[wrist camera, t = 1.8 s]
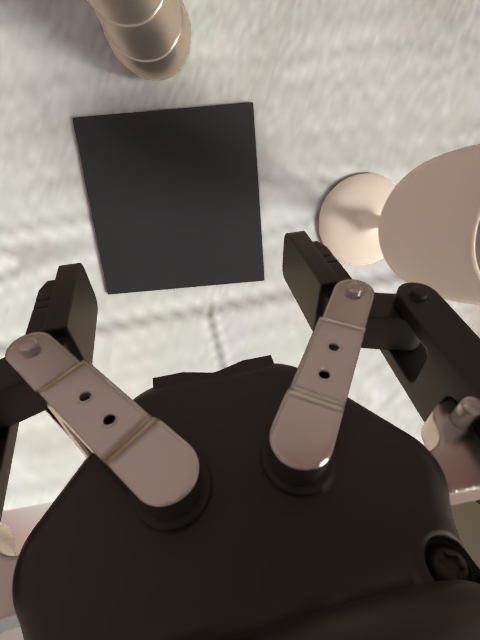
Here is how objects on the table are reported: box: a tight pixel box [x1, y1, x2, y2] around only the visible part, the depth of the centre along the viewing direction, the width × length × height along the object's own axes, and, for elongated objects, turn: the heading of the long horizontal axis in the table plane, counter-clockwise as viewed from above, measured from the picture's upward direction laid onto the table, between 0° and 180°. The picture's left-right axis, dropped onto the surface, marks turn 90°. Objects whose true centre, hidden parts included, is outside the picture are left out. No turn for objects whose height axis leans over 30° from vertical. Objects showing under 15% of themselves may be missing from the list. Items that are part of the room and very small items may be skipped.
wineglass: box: [319, 144, 480, 305], centre depth 24 cm, size 9×9×21 cm
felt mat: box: [73, 102, 264, 294], centre depth 33 cm, size 16×16×1 cm
